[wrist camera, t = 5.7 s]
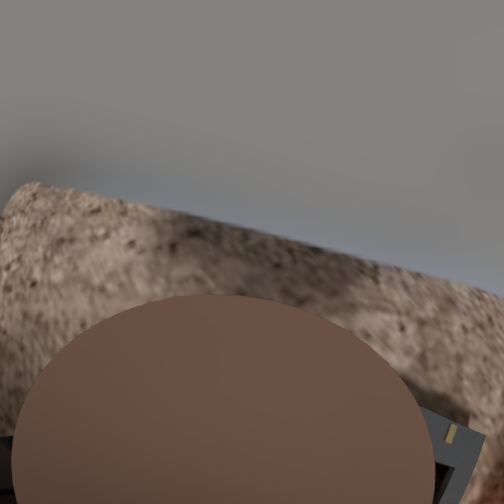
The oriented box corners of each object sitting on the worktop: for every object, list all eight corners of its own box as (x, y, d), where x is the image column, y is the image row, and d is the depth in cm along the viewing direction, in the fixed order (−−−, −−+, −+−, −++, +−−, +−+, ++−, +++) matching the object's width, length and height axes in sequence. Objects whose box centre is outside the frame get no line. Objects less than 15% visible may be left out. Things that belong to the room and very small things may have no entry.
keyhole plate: (250, 500, 16) (255, 511, 14) (328, 372, 22) (342, 365, 20) (413, 546, 13) (431, 554, 11) (466, 437, 19) (487, 435, 17)
